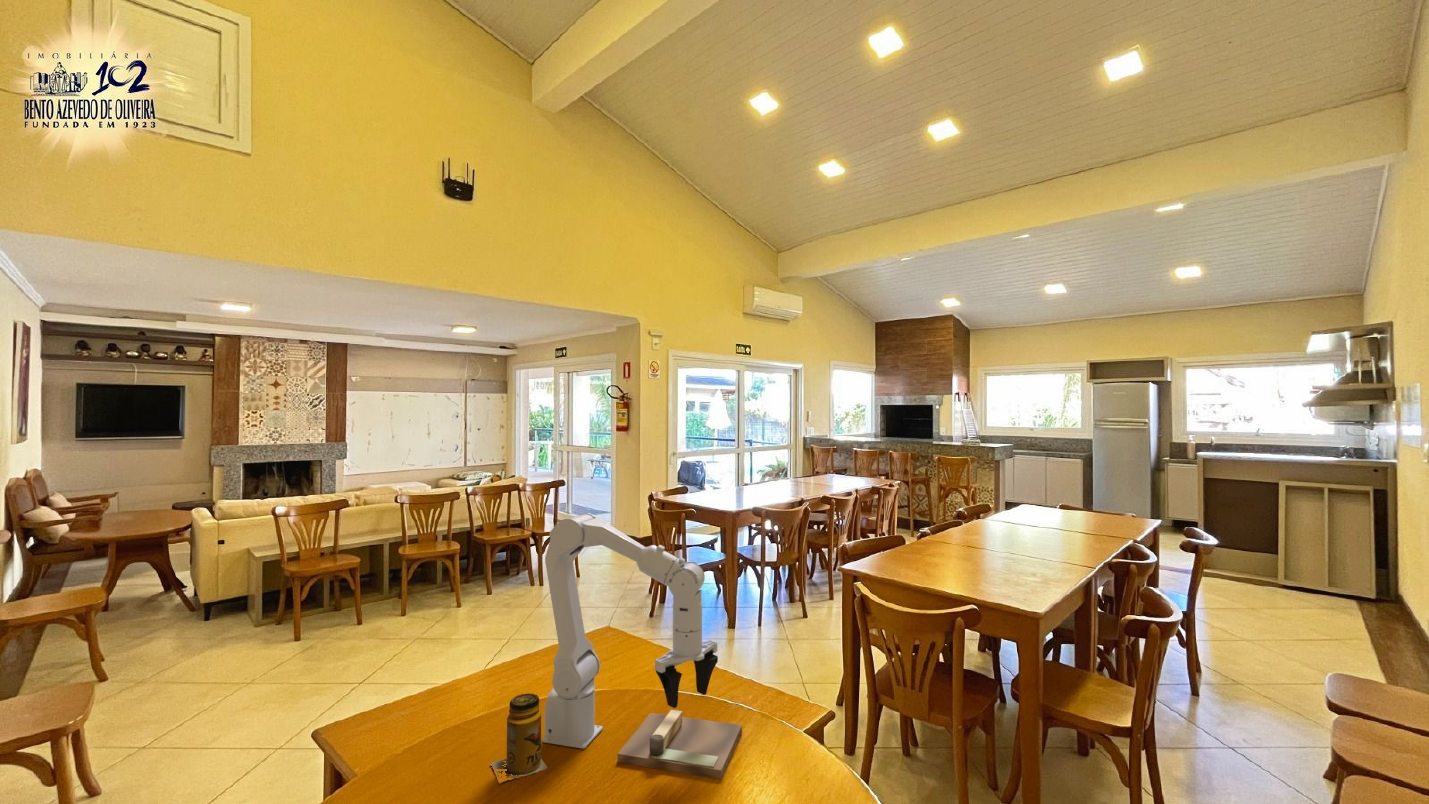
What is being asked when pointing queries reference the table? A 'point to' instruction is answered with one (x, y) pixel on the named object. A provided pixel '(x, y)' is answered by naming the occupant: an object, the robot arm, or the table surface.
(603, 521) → the robot arm
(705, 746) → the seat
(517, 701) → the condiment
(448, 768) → the table surface
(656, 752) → the leg
